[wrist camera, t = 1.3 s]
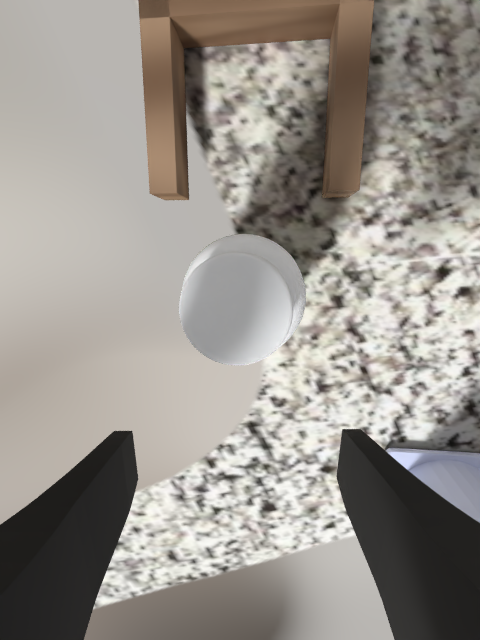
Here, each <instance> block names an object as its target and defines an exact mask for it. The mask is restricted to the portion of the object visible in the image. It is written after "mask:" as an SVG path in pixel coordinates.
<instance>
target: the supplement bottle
mask: <svg viewBox="0 0 480 640" xmlns="http://www.w3.org/2000/svg"><path fill="white" fill-rule="evenodd" d="M305 302H306V291H305V284H304V280H303V277H302V274H301V271H300V269H299V267H298V265H297V263H296V262H295V260H294V259H293V257H292V256H291V255H290V254H289V253H288V252H287V251H286V250H285V249H284V248H283V247H281V246H280V245H279V244H277V243H275V242H274V241H272V240H270V239H267V238H265V237H262V236H258V235H252V234H236V235H231V236H226V237H223V238H221V239H218V240H216V241H214V242H213V243H211V244H209V245H208V246H206V247H205V248H204V249H203V250H202V251H201V252H200V253H199V254H198V255H197V256H196V257H195V259H194V260H193V261H192V263H191V265H190V267H189V269H188V271H187V273H186V276H185V279H184V283H183V288H182V292H181V295H180V300H179V315H180V321H181V324H182V327H183V330H184V332H185V334H186V336H187V338H188V339H189V340H190V342H191V343H192V345H193V346H194V347H195V348H196V349H197V350H198V351H199V352H200V353H202V354H203V355H204V356H206V357H208V358H210V359H212V360H214V361H216V362H219V363H222V364H226V365H238V366H239V365H247V364H252V363H255V362H258V361H260V360H262V359H264V358H266V357H268V356H269V355H271V354H272V353H273V352H274V351H276V349H277V348H279V347H280V346H282V345H283V344H284V343H285V342H286V341H287V340H288V339H289V338H290V337H291V336H292V335H293V333H294V332H295V330H296V329H297V327H298V325H299V323H300V321H301V319H302V317H303V313H304V309H305Z"/></svg>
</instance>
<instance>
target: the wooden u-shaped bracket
mask: <svg viewBox="0 0 480 640" xmlns="http://www.w3.org/2000/svg"><path fill="white" fill-rule="evenodd" d="M373 7H374V0H139V16H140V32H141V50H142V68H143V85H144V101H145V118H146V135H147V153H148V169H149V186H150V194H152V195H154V196H157V197H159V198H161V199H164V200H189V188H188V159H187V158H188V157H187V128H186V97H185V67H184V48H195V47H210V46H225V45H240V44H255V43H271V42H286V41H301V40H316V39H330V58H329V77H328V96H327V114H326V133H325V152H324V171H323V189H322V198H338V197H350V196H351V195H352V194H354V193H355V192H357V191H358V190H359V188H360V175H361V162H362V149H363V136H364V123H365V110H366V97H367V84H368V72H369V59H370V46H371V33H372V20H373Z"/></svg>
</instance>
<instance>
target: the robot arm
mask: <svg viewBox="0 0 480 640" xmlns="http://www.w3.org/2000/svg"><path fill="white" fill-rule="evenodd" d="M337 480H338V484H339V488H340V491H341V495H342V498H343V502H344V505H345V508H346V511H347V514H348V516H349V519H350V521H351V524H352V526H353V528H354V531H355V533H356V536H357V538H358V541H359V543H360V546H361V548H362V550H363V553H364V555H365V558H366V560H367V563H368V565H369V567H370V570H371V572H372V575H373V577H374V580H375V582H376V585H377V587H378V590H379V593H380V596H381V598H382V601H383V605H384V608H385V611H386V614H387V617H388V620H389V623H390V627H391V630H392V633H393V636H394V639H395V640H480V453H468V452H452V451H436V450H420V449H403V448H389V449H387V450H386V451H385V450H384V449H383V448H381V447H380V446H379V445H378V444H377V443H376V442H375V441H373V440H372V439H371V438H370V437H369V436H368V435H367V434H365V433H364V432H363V431H362V430H360V429H342V437H341V445H340V453H339V462H338V470H337ZM137 481H138V474H137V466H136V457H135V449H134V441H133V433H132V431H114V432H113V433H112V434H110V435H109V436H108V437H107V438H106V439H105V440H104V441H103V442H102V443H101V444H99V445H98V446H97V447H96V448H95V449H94V450H93V451H92V452H91V453H90V454H88V455H87V456H86V457H85V458H84V459H83V460H82V461H80V462H79V463H78V464H77V465H76V466H75V467H74V468H73V469H72V470H70V471H69V472H68V473H67V474H66V475H65V476H63V477H62V478H61V479H60V480H58V481H57V482H56V483H55V484H54V485H52V486H51V487H50V488H49V489H47V490H46V491H45V492H44V493H42V494H41V495H40V496H39V497H38V498H37V499H35V500H34V501H32V502H31V503H30V504H29V505H27V506H26V507H25V508H23V509H22V510H20V511H19V512H18V513H16V514H15V515H14V516H12V517H11V518H9V519H8V520H7V521H5V522H4V523H2V524H1V525H0V640H84V637H85V633H86V630H87V627H88V623H89V620H90V617H91V613H92V610H93V607H94V604H95V601H96V598H97V595H98V592H99V589H100V586H101V584H102V581H103V579H104V576H105V573H106V571H107V568H108V566H109V563H110V561H111V558H112V556H113V553H114V550H115V548H116V545H117V543H118V540H119V538H120V535H121V532H122V530H123V527H124V525H125V522H126V519H127V517H128V514H129V511H130V508H131V504H132V501H133V497H134V493H135V489H136V485H137Z"/></svg>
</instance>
